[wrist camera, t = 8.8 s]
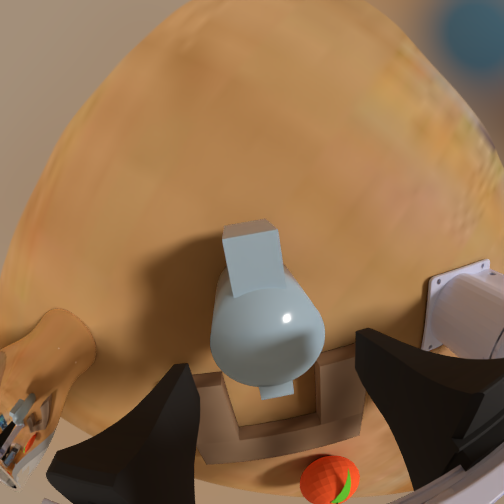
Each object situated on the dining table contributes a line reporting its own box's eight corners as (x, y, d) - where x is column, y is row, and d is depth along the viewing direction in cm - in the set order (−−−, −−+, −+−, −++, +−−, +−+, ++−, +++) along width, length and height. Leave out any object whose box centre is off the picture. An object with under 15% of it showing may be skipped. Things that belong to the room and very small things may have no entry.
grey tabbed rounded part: (299, 328, 21) (326, 385, 14) (227, 342, 20) (227, 405, 14) (284, 210, 18) (314, 223, 12) (201, 225, 18) (184, 246, 11)
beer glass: (83, 382, 20) (19, 499, 6) (31, 334, 19) (-58, 425, 4) (114, 343, 20) (30, 488, 5) (54, 286, 18) (-71, 384, 4)
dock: (360, 341, 21) (369, 352, 20) (353, 424, 24) (359, 435, 22) (172, 376, 21) (169, 390, 19) (207, 452, 23) (206, 464, 22)
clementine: (307, 441, 24) (323, 491, 17) (361, 436, 25) (383, 479, 18) (288, 476, 26) (297, 519, 19) (337, 471, 26) (351, 510, 19)
